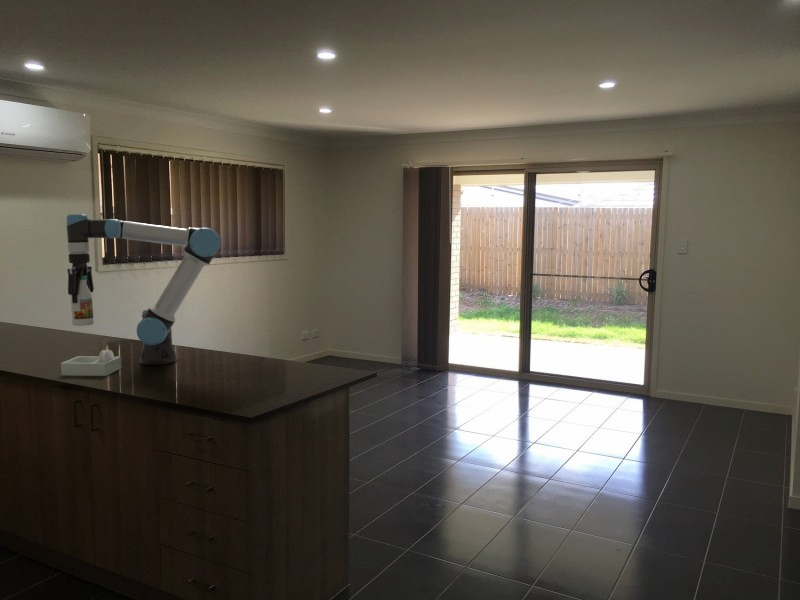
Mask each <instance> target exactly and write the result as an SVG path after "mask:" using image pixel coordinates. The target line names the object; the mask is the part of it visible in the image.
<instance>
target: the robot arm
mask: <svg viewBox="0 0 800 600" xmlns="http://www.w3.org/2000/svg"><path fill="white" fill-rule="evenodd" d="M65 227H66V233H67V234H66V235H67V251H68V253H69V254H68V263H69V264H71V268H67V278H68V279H67V283H68V284H67V293H68V295H69V296H71V295H72V304H73V311H81V310H80V295H78V292H79V285H80V279H81V278H82V276H84V275H86V276H87V281H86V283H87V286H88V288H89V290H90V292H91V293H93V292H94V289H95V288H94V281H93V273H92V271H93V269H92V266H88V264H89V263H90V262H91V260H90V259H91V258H90V244H89V243H90V239H121V240H122V239H123V240H124V239H125V240H129V241H139V242H147V243H153V244H163V245H172V246H178V247H184V249H183V254H184V256H183V258H182V260H181V261H180V262H179V265H178V267H177V268H176V269H175V271H174V273H173V275H172V277H171V278H170V280H169V282H168V283H167V285H166V286H165V288H164V290H163V291H162V293H161V295H160V296H159V298H158V300H157V301H156V303H155V305H151V306H149V308H147V309H143V311H142V314H141V318H142V319H141V320H140V321H139V322H138V324H137V326H136V335H137V337H138V338H137V339H138V340H140V341H141V342H142V343H143V347H142V350H141V353H140V357H139V360H140V361H139V363H140V364H142V365H146V366H153V365H154V366H158V365H161V366H162V365H166V364H171V363H175V362H177V360H178V355H177V352H176V350H175V347H174V344H173V333H172V327H173V325H174V323H175V322H176V317H175V315H176V314H177V312H178V310H179V309H180V306H181V305H182V303H183V301H184V299H185V298H186V296H187V295H188V293H189V291H190V289H191V288H192V286H193V285H194V284H195V281H196V280H197V279H198V276H199V275H200V273H201V271H202V269H203V268H204V267H205V266H208V265H210V264H211V262H212V260H213V259H214V257H215V256H216V254H217V252H218V251H219V250H220V247H221V245H222V243H221V242H222V238H221V235H220V234H219V232H218V231H217V230H216V229H214V228H213V227H212V228H211V227H207V226H206V227H205V226H203V227H187V228H181V227H180V228H179V227H173V226H168V225H167V226H165V225H159V224H157V225H156V224H149V223H144V222H143V223H142V222H135V221H126V220H121V219H117V218H115V219H114V218H109V219H107V218H104V219H103V218H102V219H101V218H97V219H93V218H92V219H91V218H88V215H87V214H86V213H85V214H84V213H83V214H82V213H73V214H71V213H69V214H68V215H66V225H65Z"/></svg>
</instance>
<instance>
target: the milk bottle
mask: <svg viewBox="0 0 800 600" xmlns="http://www.w3.org/2000/svg"><path fill="white" fill-rule="evenodd" d="M86 281H87V276H86V275H84V276H82V278H81V279H80V285H79V292H78V295H80V310H81V311H73V304H72V295H70V302H71V303H70V305H71V321H72V322H71V323H72V325H73V326H74V327H75V326H76V327H77V326H78V327H84V326H85V327H86V326H91V325H94V307H93V305H94V303H93V296H92V292H90V290H89V288H88V286H87V283H86Z"/></svg>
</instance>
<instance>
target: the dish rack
mask: <svg viewBox="0 0 800 600" xmlns="http://www.w3.org/2000/svg"><path fill="white" fill-rule="evenodd" d="M60 367H61V369H60V370H61V372H60V373H61V376H74V377H75V376H78V377H79V376H80V377H81V376H82V377H83V376H85V377H86V376H88V377H89V376H90V377H93V376H94V377H106V376H108V375H110V374H112V373H115V372H117V371H119V370H121V369H122V358H121V356H115V355H114V352H113V351H112V350H111V349H109V350H108V349H104V350H101V351H100V352H99V355H98V356H97V355H96V356H95V355H91V356H88V355H86V356H85V355H78V356H75V357H73V358H70V359H68V360H65V361H62V362H60Z"/></svg>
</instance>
